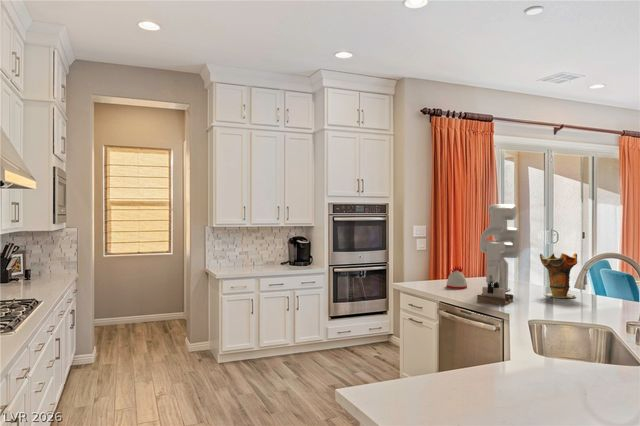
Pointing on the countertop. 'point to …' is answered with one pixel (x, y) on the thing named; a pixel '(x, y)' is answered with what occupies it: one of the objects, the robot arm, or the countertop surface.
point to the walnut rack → (495, 299)
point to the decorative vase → (559, 274)
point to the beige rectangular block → (494, 292)
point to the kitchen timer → (456, 279)
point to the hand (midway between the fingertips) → (493, 292)
